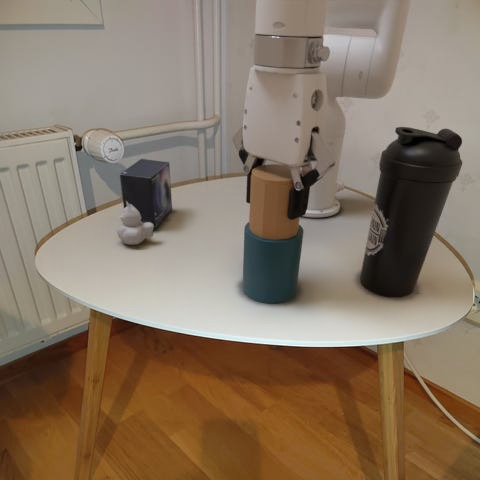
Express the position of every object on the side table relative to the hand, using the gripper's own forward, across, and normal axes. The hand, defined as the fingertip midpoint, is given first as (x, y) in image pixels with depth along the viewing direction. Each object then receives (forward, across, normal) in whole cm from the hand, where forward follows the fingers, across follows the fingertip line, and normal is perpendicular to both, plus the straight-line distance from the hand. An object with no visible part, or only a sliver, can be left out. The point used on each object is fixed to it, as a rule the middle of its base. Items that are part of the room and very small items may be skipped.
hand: (275, 207), depth 57 cm
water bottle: (+13, -12, -15) cm, 23 cm away
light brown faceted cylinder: (+3, 0, 0) cm, 3 cm away
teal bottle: (+13, 0, 0) cm, 13 cm away
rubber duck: (+13, +27, +6) cm, 31 cm away
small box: (+13, +34, -2) cm, 37 cm away
